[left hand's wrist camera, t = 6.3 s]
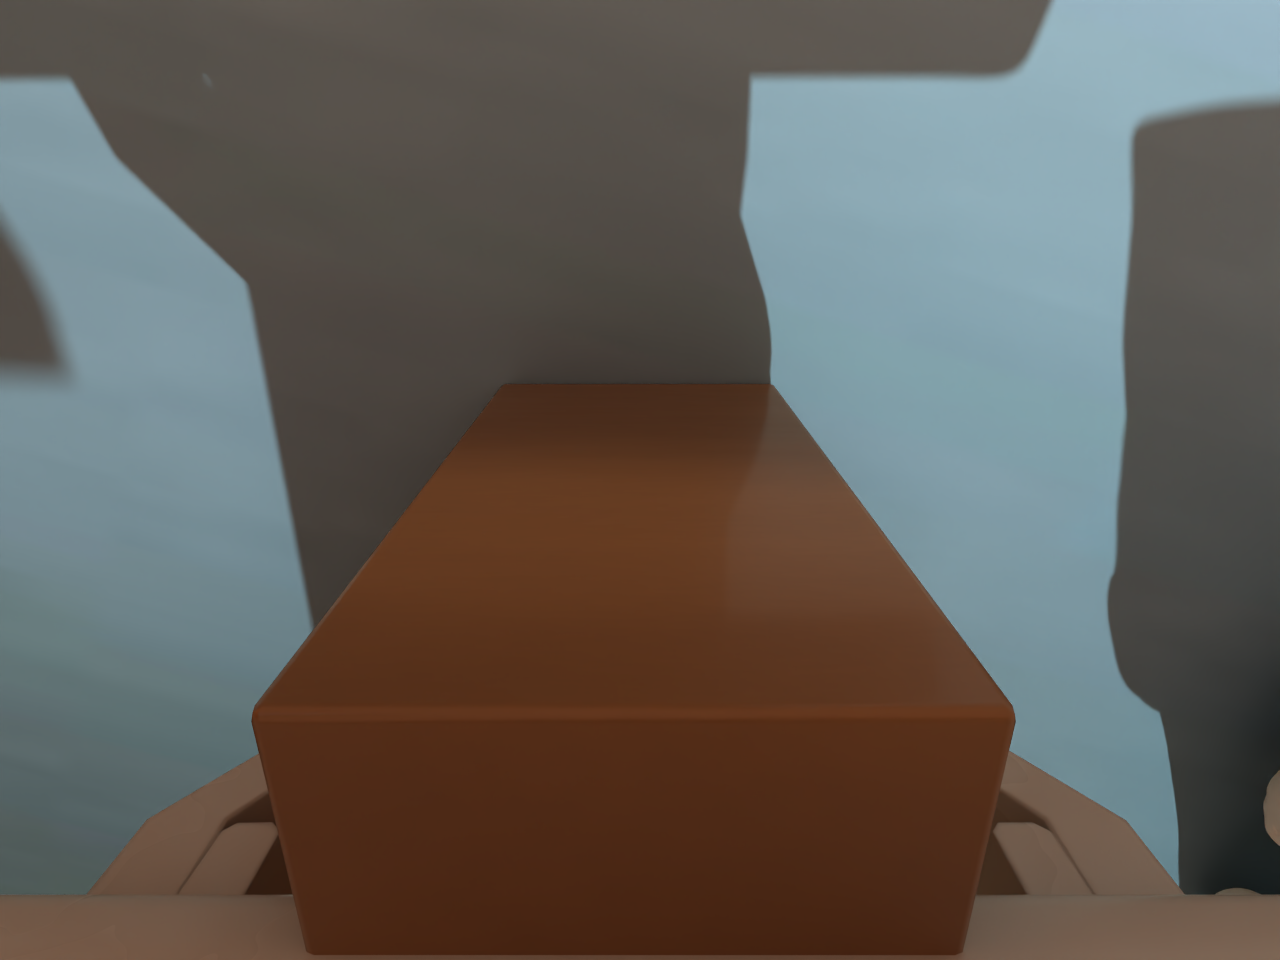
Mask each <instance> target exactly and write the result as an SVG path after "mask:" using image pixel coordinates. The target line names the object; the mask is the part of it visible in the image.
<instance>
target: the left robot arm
mask: <svg viewBox="0 0 1280 960" xmlns="http://www.w3.org/2000/svg"><path fill="white" fill-rule="evenodd" d="M0 960H1280V895H1185V894H1184V893H1183V892H1182V890H1181V889H1180V888H1179V887H1178V885H1177V884H1176V883H1175V882H1174V880H1173V879H1172V878H1171V877H1170V875H1169V874H1168V873H1167V871H1166V870H1165V869H1164V868H1163V866H1162V865H1161V864H1160V863H1159V861H1158V860H1157V859H1156V858H1155V856H1154V855H1153V854H1152V852H1151V851H1150V850H1149V849H1148V847H1147V846H1146V845H1145V844H1144V842H1143V841H1142V840H1141V839H1140V837H1139V836H1138V835H1137V833H1136V832H1135V831H1134V830H1133V828H1132V827H1131V826H1130V825H1129V823H1128V822H1127V821H1126V820H1125V819H1123V818H1121V817H1120V816H1118V815H1116V814H1114V813H1113V812H1111V811H1109V810H1108V809H1106V808H1104V807H1103V806H1101V805H1099V804H1098V803H1096V802H1094V801H1093V800H1091V799H1089V798H1088V797H1086V796H1084V795H1083V794H1081V793H1079V792H1078V791H1076V790H1074V789H1073V788H1071V787H1069V786H1068V785H1066V784H1064V783H1063V782H1061V781H1059V780H1058V779H1056V778H1054V777H1052V776H1051V775H1049V774H1047V773H1046V772H1044V771H1042V770H1041V769H1039V768H1037V767H1036V766H1034V765H1032V764H1031V763H1029V762H1027V761H1026V760H1024V759H1022V758H1021V757H1019V756H1017V755H1016V754H1014V753H1012V752H1011V751H1009V752H1008V757H1007V761H1006V765H1005V770H1004V774H1003V779H1002V783H1001V787H1000V792H999V796H998V800H997V805H996V809H995V813H994V818H993V822H992V826H991V831H990V835H989V840H988V844H987V848H986V853H985V857H984V861H983V866H982V870H981V874H980V879H979V883H978V887H977V892H976V896H975V901H974V905H973V909H972V914H971V918H970V922H969V927H968V931H967V935H966V940H965V944H964V948H963V952H962V953H959V954H957V955H312V954H310V953H308V952H306V948H305V944H304V940H303V936H302V931H301V927H300V923H299V919H298V915H297V910H296V906H295V902H294V898H293V894H292V889H291V885H290V881H289V877H288V873H287V869H286V864H285V860H284V856H283V852H282V848H281V843H280V839H279V835H278V831H277V827H276V822H275V818H274V814H273V810H272V806H271V801H270V797H269V793H268V789H267V785H266V780H265V776H264V772H263V768H262V764H261V759H260V755H259V754H257V755H255V756H254V757H252V758H250V759H249V760H247V761H245V762H244V763H242V764H240V765H238V766H237V767H235V768H233V769H232V770H230V771H228V772H227V773H225V774H223V775H221V776H220V777H218V778H216V779H215V780H213V781H211V782H210V783H208V784H206V785H205V786H203V787H201V788H199V789H198V790H196V791H194V792H193V793H191V794H189V795H188V796H186V797H184V798H182V799H181V800H179V801H177V802H176V803H174V804H172V805H171V806H169V807H167V808H166V809H164V810H162V811H160V812H159V813H157V814H155V815H154V816H152V817H150V818H149V819H147V820H146V821H145V823H144V824H143V825H142V826H141V827H140V829H139V830H138V831H137V832H136V834H135V835H134V836H133V837H132V839H131V840H130V841H129V842H128V844H127V845H126V846H125V847H124V848H123V850H122V851H121V852H120V853H119V855H118V856H117V857H116V858H115V860H114V861H113V862H112V863H111V865H110V866H109V867H108V868H107V870H106V871H105V872H104V873H103V874H102V876H101V877H100V878H99V879H98V881H97V882H96V883H95V884H94V886H93V887H92V888H91V889H90V891H89V892H88V893H87V894H86V895H0Z"/></svg>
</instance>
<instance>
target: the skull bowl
mask: <svg viewBox="0 0 1280 960" xmlns="http://www.w3.org/2000/svg"><path fill="white" fill-rule="evenodd" d="M1263 809H1264V816H1265V828H1266V831H1267V833H1268V834H1269V836H1270V837H1271V838H1272V839H1273V840H1274V841H1275V842H1276V843H1277V844H1278V845H1279V846H1280V770H1279V771H1278V772H1277V773H1276V774H1275V775H1274V776H1273V778H1272V779H1271V780H1270V782H1269V784H1268V786H1267V795H1266V797H1265V800H1264V802H1263ZM1215 895H1261V894H1259V893H1257V892H1254V891H1251V890H1248V889H1244V888H1230V889H1225V890H1222V891H1219V892H1217V893H1216V894H1215Z"/></svg>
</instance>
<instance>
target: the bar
mask: <svg viewBox="0 0 1280 960" xmlns="http://www.w3.org/2000/svg"><path fill="white" fill-rule="evenodd" d="M251 722H252V726H253V730H254V734H255V738H256V743H257V747H258V751H259V755H260V759H261V764H262V768H263V772H264V776H265V780H266V785H267V789H268V793H269V797H270V801H271V806H272V810H273V814H274V818H275V822H276V827H277V831H278V835H279V839H280V843H281V848H282V852H283V856H284V860H285V864H286V869H287V873H288V877H289V881H290V885H291V889H292V894H293V898H294V902H295V906H296V910H297V915H298V919H299V923H300V927H301V931H302V936H303V940H304V944H305V948H306V952H308V953H310V954H312V955H957V954H959V953H962V952H963V948H964V944H965V940H966V935H967V931H968V927H969V922H970V918H971V914H972V909H973V905H974V901H975V896H976V892H977V887H978V883H979V879H980V874H981V870H982V866H983V861H984V857H985V853H986V848H987V844H988V840H989V835H990V831H991V826H992V822H993V818H994V813H995V809H996V805H997V800H998V796H999V792H1000V787H1001V783H1002V779H1003V774H1004V770H1005V765H1006V761H1007V757H1008V752H1009V748H1010V744H1011V739H1012V735H1013V731H1014V726H1015V722H1016V720H1015V713H1014V710H1013V706H1012V704H1011V703H1010V702H1009V700H1008V699H1007V698H1006V696H1005V695H1004V694H1003V692H1002V691H1001V690H1000V688H999V687H998V686H997V684H996V683H995V682H994V680H993V679H992V678H991V676H990V675H989V674H988V672H987V671H986V670H985V668H984V667H983V665H982V664H981V663H980V661H979V660H978V659H977V657H976V656H975V655H974V653H973V652H972V651H971V649H970V648H969V647H968V645H967V644H966V643H965V641H964V640H963V639H962V637H961V636H960V635H959V633H958V632H957V631H956V629H955V628H954V627H953V625H952V624H951V623H950V621H949V620H948V619H947V617H946V616H945V615H944V613H943V612H942V611H941V609H940V608H939V606H938V605H937V604H936V602H935V601H934V600H933V598H932V597H931V596H930V594H929V593H928V592H927V590H926V589H925V588H924V586H923V585H922V584H921V582H920V581H919V580H918V578H917V577H916V576H915V574H914V573H913V572H912V570H911V569H910V568H909V566H908V565H907V564H906V562H905V561H904V560H903V558H902V557H901V556H900V554H899V553H898V551H897V550H896V549H895V547H894V546H893V545H892V543H891V542H890V541H889V539H888V538H887V537H886V535H885V534H884V533H883V531H882V530H881V529H880V527H879V526H878V525H877V523H876V522H875V521H874V519H873V518H872V517H871V515H870V514H869V513H868V511H867V510H866V509H865V507H864V506H863V505H862V503H861V502H860V501H859V499H858V498H857V496H856V495H855V494H854V492H853V491H852V490H851V488H850V487H849V486H848V484H847V483H846V482H845V480H844V479H843V478H842V476H841V475H840V474H839V472H838V471H837V470H836V468H835V467H834V466H833V464H832V463H831V462H830V460H829V459H828V458H827V456H826V455H825V454H824V452H823V451H822V450H821V448H820V447H819V446H818V444H817V443H816V442H815V440H814V439H813V437H812V436H811V435H810V433H809V432H808V431H807V429H806V428H805V427H804V425H803V424H802V423H801V421H800V420H799V419H798V417H797V416H796V415H795V413H794V412H793V411H792V409H791V408H790V407H789V405H788V404H787V403H786V401H785V400H784V399H783V397H782V396H781V395H780V393H779V392H778V391H777V389H776V388H775V387H774V385H771V384H505V385H502V386H501V387H500V389H499V390H498V391H497V393H496V394H495V395H494V396H493V398H492V399H491V400H490V402H489V403H488V404H487V406H486V407H485V408H484V409H483V411H482V412H481V413H480V415H479V416H478V417H477V418H476V420H475V421H474V422H473V424H472V425H471V426H470V428H469V429H468V430H467V431H466V433H465V434H464V435H463V437H462V438H461V439H460V441H459V442H458V443H457V444H456V446H455V447H454V448H453V450H452V451H451V452H450V453H449V455H448V456H447V457H446V459H445V460H444V461H443V463H442V464H441V465H440V466H439V468H438V469H437V470H436V472H435V473H434V474H433V475H432V477H431V478H430V479H429V481H428V482H427V483H426V485H425V486H424V487H423V488H422V490H421V491H420V492H419V494H418V495H417V496H416V497H415V499H414V500H413V501H412V503H411V504H410V505H409V507H408V508H407V509H406V510H405V512H404V513H403V514H402V516H401V517H400V518H399V520H398V521H397V522H396V523H395V525H394V526H393V527H392V529H391V530H390V531H389V532H388V534H387V535H386V536H385V538H384V539H383V540H382V542H381V543H380V544H379V545H378V547H377V548H376V549H375V551H374V552H373V553H372V554H371V556H370V557H369V558H368V560H367V561H366V562H365V564H364V565H363V566H362V567H361V569H360V570H359V571H358V573H357V574H356V575H355V577H354V578H353V579H352V580H351V582H350V583H349V584H348V586H347V587H346V588H345V589H344V591H343V592H342V593H341V595H340V596H339V597H338V599H337V600H336V601H335V602H334V604H333V605H332V606H331V608H330V609H329V610H328V611H327V613H326V614H325V615H324V617H323V618H322V619H321V621H320V622H319V623H318V624H317V626H316V627H315V628H314V630H313V631H312V632H311V634H310V635H309V636H308V637H307V639H306V640H305V641H304V643H303V644H302V645H301V646H300V648H299V649H298V650H297V652H296V653H295V654H294V656H293V657H292V658H291V659H290V661H289V662H288V663H287V665H286V666H285V667H284V668H283V670H282V671H281V672H280V674H279V675H278V676H277V678H276V679H275V680H274V681H273V683H272V684H271V685H270V687H269V688H268V689H267V690H266V692H265V693H264V694H263V696H262V697H261V698H260V700H259V701H258V702H257V703H256V705H255V707H254V710H253V714H252V721H251Z"/></svg>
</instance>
